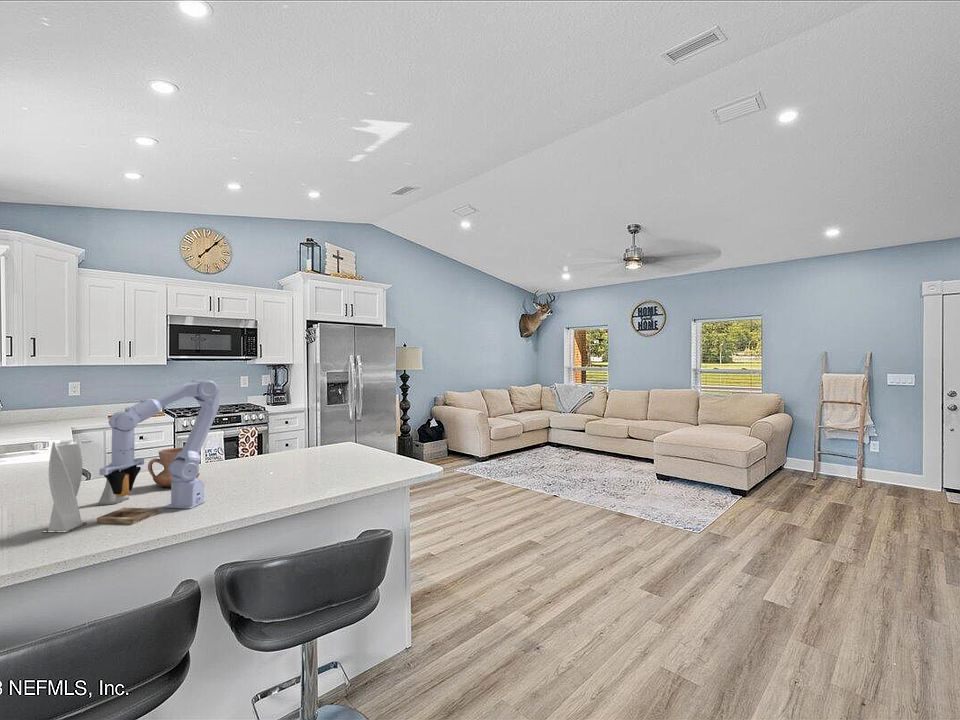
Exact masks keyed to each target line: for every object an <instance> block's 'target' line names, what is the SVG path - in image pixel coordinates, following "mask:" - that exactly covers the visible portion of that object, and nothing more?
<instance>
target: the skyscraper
mask: <svg viewBox="0 0 960 720" xmlns="http://www.w3.org/2000/svg"><path fill="white" fill-rule="evenodd" d="M80 441H81V440H80V435H79V434H77V435H75V440H74V441H73V439H65V440H60V441H59V442H58V443H56V442H55V441H53V442H52V445H51V450H50V455H49V462H48V485H49V490H50V493H51V497H52V500H53V501H52V502H53V505H52V511H51V515H50V521H49V524H48V528H46V529H44V530H43V531H66V532H65V533H68V532H67V531H69V532H71V531H70V530H72V529H74V530H76V529H78V528H80V527H79V526H81V527H83V526H85V525H87V524H88V522H86V521H85V522H84V521H82V518H81V514H80V508H79V503H78V499H77V496H78V494H79V492H80V491H79V490H80V487H81V484H82V483H81V482H82V477H83V459H82V457H83V456H82V450H81V446H80ZM86 523H87V524H86ZM84 524H85V525H84ZM82 525H83V526H82ZM77 527H78V528H77ZM75 528H76V529H75ZM72 531H73V530H72Z"/></svg>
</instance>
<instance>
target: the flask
mask: <svg viewBox="0 0 960 720" xmlns="http://www.w3.org/2000/svg"><path fill="white" fill-rule="evenodd" d="M105 482H106V483H105V486H104V488H103V491H102V494H101V496H100V498H99V501H98V503H97V506H98V505H99V506H100V505H101V506H108V505H115V504H118V503H121V502H122V501H119V502H117V501H115V494H113V491H112V488H111V485H110V483H109V481H108V480H107V479H106V481H105Z"/></svg>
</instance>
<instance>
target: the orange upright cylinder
mask: <svg viewBox="0 0 960 720" xmlns="http://www.w3.org/2000/svg"><path fill="white" fill-rule="evenodd" d="M128 500H130V491H129V474H128V473H126V474H125V476H124V480H123V485H122V493H121V494H115V501H117V502H119V501H121V502H125V501H128ZM119 503H120V502H119Z"/></svg>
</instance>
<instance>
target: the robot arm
mask: <svg viewBox="0 0 960 720" xmlns="http://www.w3.org/2000/svg"><path fill="white" fill-rule="evenodd" d="M220 391H221V390H220V388H219V386H218V385H217V383H216V382H215V381H213V380H210V379H206V380H205V379H199V378H196V379H193V380H191V381H189V382H185V383H184V384H181V385H180V386H178V387H176V388H174V389H173V390H170V391H169V392H167V393H165V394H163V395H161V396H159V397H157V398H156V399H154V398H147V399H146V398H142V399H140V402H139V403H137V404H136V403H135V404H134V405H132V406H130V407H129V406H127V407H125V408H124V411H117V412H115V413H113V414H112V415H111V416H110V418H109V420H108V422H107V423H108V425H109V427H111V462H110V463H109V464H108V465H106V466H103V467H101V468H99V476H103V477H105V478H106V481H107V480H108V481H109V483H110V485H111V488H112V491H113V494H121V493H122V485H123V480H124V476H125V474H126V473H128V474H129V492H130V491H132V490H133V487H134V484H135V480H136V478H137V476H138V474H139V473H140V471H141V466H143V465H144V464H145V458H139V457H138V458H135V428H136V427H137V426H138V424H140V423H142V422H144V421H147V420H148V419H151V417H154V416H156V415H158V414H160V412H161V409H162V408H163V407H166V406H169V405H171V404H173V403H175V402H177V401H180V400H181V399H184V398H185V397H189V398H191V397H192V398H193V399H195V400H196V401H197V402H198V404H199V406H200V409H199V413H198V414H197V417H196V419H195V421H194V423H193V426H192V428H191V430H190V432H189V434H188V437H187V439H186V441H185V443H184V444H183V445H184V446H183V447H184V448H183V450H182V451H181V452H179V453H178V454H177V456H176V458H175V459H174V460H173V461H172V462H171V463H170V465H169V467H168V471H169V473H170V474H171V475H172V479H171V487H170V495H171V496H170V504H167V505H165V506H164V508H166V509H170V508H171V509H192V508H195V507H196V506H199V505H201V504H204V503H205V502H206V500H205V484H204V481H203V480H201V479H198V478H197V479H196V476H197V474H198V473H200V472H199V471H200V462H201V458H200V456H201V455H200V453H201V450H202V449H203V445H204V444H205V441H206V439H207V436H208V434H209V432H210V430H211V428H212V425H213V422H214V421H215V418H216V417H217V414H218V411H219V409H220V398H219V397H220V396H219V393H220ZM199 455H200V456H199Z"/></svg>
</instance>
